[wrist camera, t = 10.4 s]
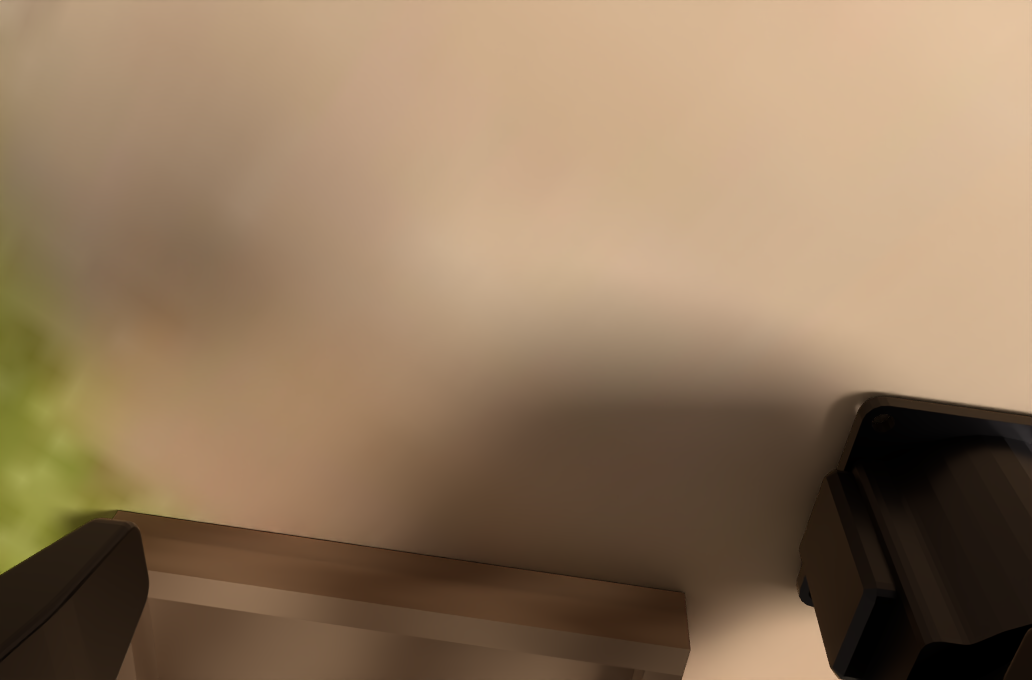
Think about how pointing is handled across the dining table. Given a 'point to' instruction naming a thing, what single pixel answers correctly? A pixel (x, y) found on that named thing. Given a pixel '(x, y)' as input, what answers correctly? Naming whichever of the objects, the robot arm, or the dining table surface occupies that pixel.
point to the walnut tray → (382, 615)
